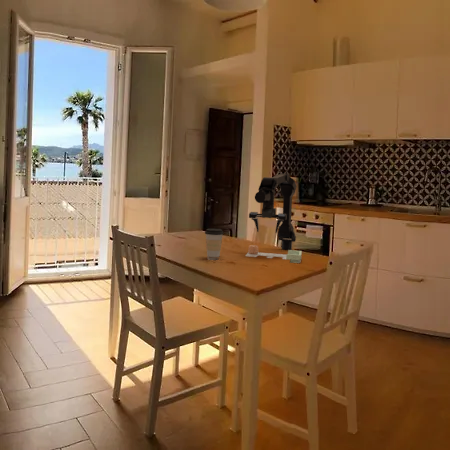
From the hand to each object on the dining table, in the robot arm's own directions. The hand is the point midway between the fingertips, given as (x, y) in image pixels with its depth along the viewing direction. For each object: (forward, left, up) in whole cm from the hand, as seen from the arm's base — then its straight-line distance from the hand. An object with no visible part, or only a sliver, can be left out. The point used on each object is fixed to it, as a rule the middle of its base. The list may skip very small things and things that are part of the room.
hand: (266, 232), depth 238 cm
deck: (-1, +4, -14) cm, 14 cm away
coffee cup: (+12, -25, -14) cm, 31 cm away
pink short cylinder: (-4, -7, -12) cm, 14 cm away
